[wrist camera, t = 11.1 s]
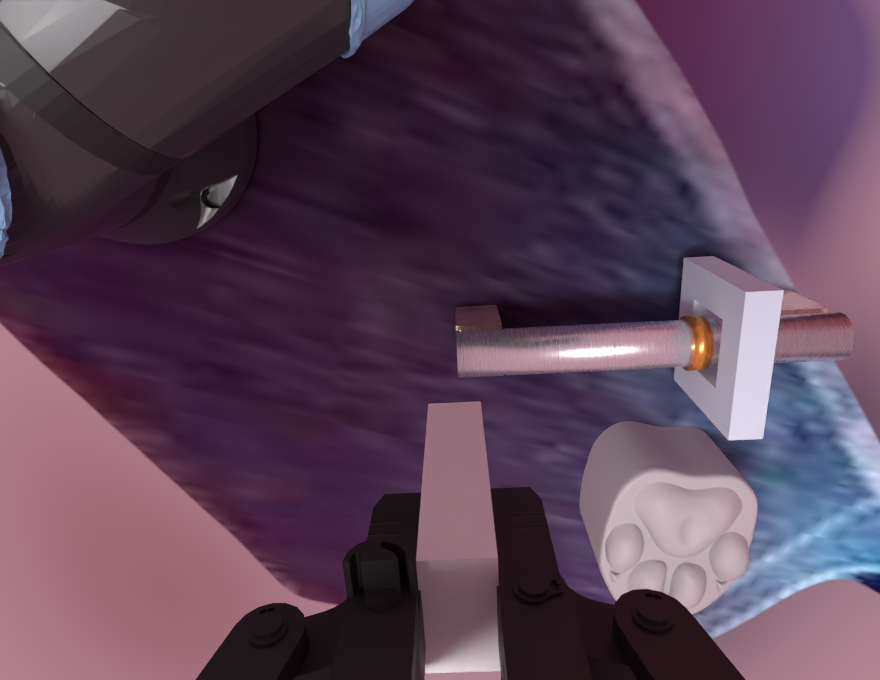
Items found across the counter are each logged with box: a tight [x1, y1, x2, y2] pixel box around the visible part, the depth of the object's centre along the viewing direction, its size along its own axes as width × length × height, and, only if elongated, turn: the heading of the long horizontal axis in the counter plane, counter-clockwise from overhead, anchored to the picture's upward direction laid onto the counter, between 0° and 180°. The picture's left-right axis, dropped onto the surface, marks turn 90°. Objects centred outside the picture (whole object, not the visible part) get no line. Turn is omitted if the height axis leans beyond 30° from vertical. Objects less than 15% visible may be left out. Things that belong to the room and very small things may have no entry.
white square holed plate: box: [674, 256, 784, 440], centre depth 38 cm, size 2×9×9 cm, turn 3°
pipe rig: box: [455, 290, 855, 378], centre depth 40 cm, size 24×4×8 cm, turn 93°
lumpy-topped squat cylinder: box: [580, 421, 758, 614], centre depth 44 cm, size 10×13×9 cm
